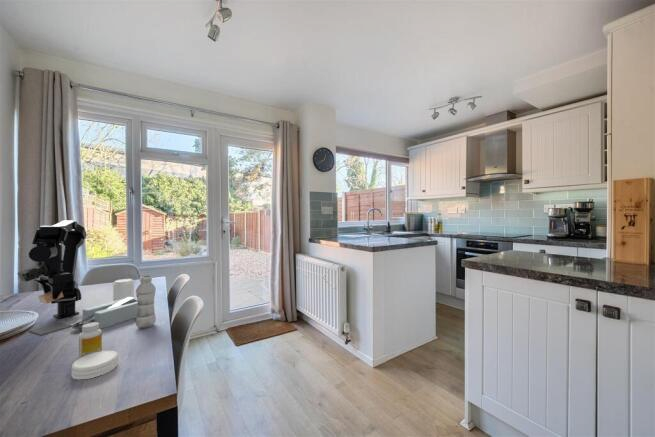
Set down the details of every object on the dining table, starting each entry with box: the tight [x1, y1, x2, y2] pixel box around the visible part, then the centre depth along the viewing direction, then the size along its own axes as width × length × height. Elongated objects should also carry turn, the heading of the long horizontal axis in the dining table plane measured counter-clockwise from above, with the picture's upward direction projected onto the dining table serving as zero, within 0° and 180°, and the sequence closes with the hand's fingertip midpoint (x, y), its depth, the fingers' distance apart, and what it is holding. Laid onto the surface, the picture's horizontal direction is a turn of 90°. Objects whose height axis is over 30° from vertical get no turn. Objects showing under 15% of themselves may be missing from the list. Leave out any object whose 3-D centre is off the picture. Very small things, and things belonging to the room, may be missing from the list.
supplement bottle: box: [78, 322, 103, 359], centre depth 84 cm, size 5×5×10 cm
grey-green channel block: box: [81, 297, 138, 330], centre depth 113 cm, size 18×12×6 cm, turn 157°
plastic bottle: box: [135, 275, 157, 329], centre depth 105 cm, size 6×7×20 cm
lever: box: [71, 297, 135, 331], centre depth 110 cm, size 21×4×1 cm, turn 157°
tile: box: [37, 291, 64, 305], centre depth 102 cm, size 5×5×2 cm
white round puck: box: [70, 350, 119, 380], centre depth 76 cm, size 10×10×4 cm
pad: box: [28, 321, 73, 337], centre depth 103 cm, size 9×9×1 cm
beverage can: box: [112, 278, 135, 302], centre depth 132 cm, size 8×8×12 cm
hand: (51, 298), depth 103 cm, fingers closed on tile, 5 cm apart
